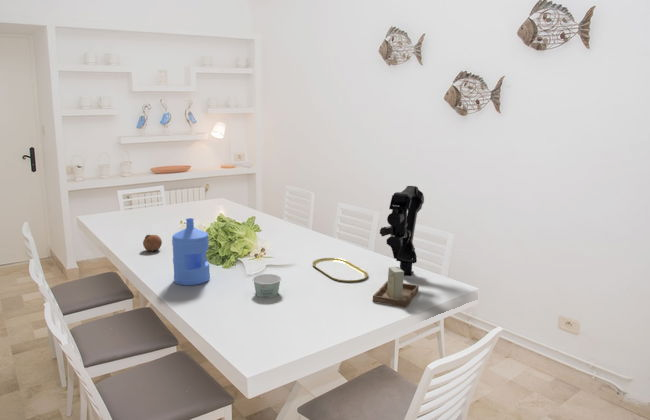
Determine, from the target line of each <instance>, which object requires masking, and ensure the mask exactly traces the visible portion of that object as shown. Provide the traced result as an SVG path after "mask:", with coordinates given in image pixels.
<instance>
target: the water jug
mask: <svg viewBox="0 0 650 420" xmlns="http://www.w3.org/2000/svg"><path fill="white" fill-rule="evenodd" d="M185 221H186V223H185V225H186V227H185V228H184V229H181V230H180V231H177V232H175V233H173V235H172V238H171V241H172V256H173V257H172V262H173V281H174V282H175V283H176V284H178V285H181V286H197V285H202V284H205V283H207V282H208V281H209V280H210V278H211V273H210V262H208V260H207V251H208V250H209V249H210V247H209V244H210V240H209V239H210V238H209V233H208V232H206V231H203V230H201V229H198V228H195V226H194V224H195V223H194V218H193V217H192V218H189V217H188V218H186V220H185Z"/></svg>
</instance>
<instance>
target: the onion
mask: <svg viewBox="0 0 650 420" xmlns="http://www.w3.org/2000/svg"><path fill="white" fill-rule="evenodd" d="M162 244H163V240H162V238H161V237H160V236H159V235H157V234H146V235H145V237H144V239H143V241H142V245H143V248H144V249H145V250H146V251H147V252H157V251H159V250H160V249H161V246H162ZM156 250H157V251H156Z"/></svg>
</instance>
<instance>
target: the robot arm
mask: <svg viewBox="0 0 650 420" xmlns="http://www.w3.org/2000/svg"><path fill="white" fill-rule="evenodd" d="M424 203H425V196H424V193H423V192H422V191H420V189H419V187H418V186H416V185H415V186H414V185H408V186H407V185H406V187H405V189H403V190H402V191H401V192H400V191H398V192H397V191H396V192H394V193H393V194H392V195H391V199H390V203H389V208H388V209H389V210H391V213H389V214H388V215H387V219H386V221H387V224H388V225H389V226H384V227H383V226H381V228H380V229H379V234H380V236H381V237H386V236H389V235H390V236H389V237H388V238H387V239H386V245H387V246H389V247H390V248H391V251H392V255H393V259H395V261H396V262H399V268H400V269H402V270H403V271H404V276H406V277H411V276H412V275H413V274H414V270H413V265H414V264H416V263H417V261H418V260H417V256H418V255H417V253H416V251H415V249H416V248H415V245H414V243H413V240H414V235H415V229H416V223H417V217H418V213H419V212H420V210H422V209H423V208H422V207H423V204H424Z"/></svg>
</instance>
